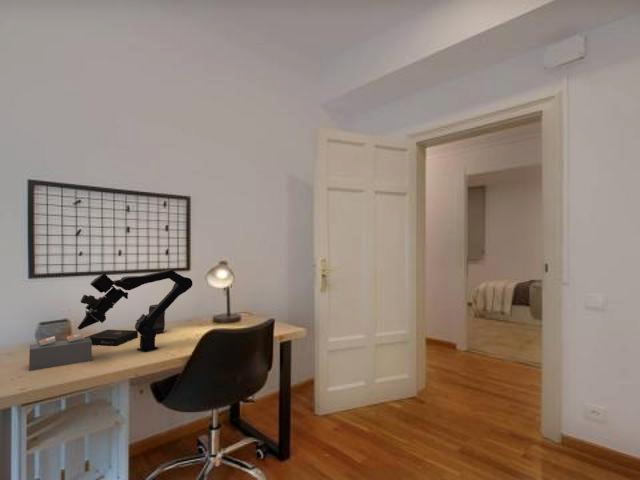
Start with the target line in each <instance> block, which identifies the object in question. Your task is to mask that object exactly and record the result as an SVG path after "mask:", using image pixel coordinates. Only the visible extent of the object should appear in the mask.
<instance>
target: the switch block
mask: <svg viewBox="0 0 640 480" xmlns="http://www.w3.org/2000/svg"><path fill="white" fill-rule="evenodd" d="M92 350H93V345H92V341H91V339H90V337H89V338H84V337H83V338H81V339H77V340H73V341H70V342H68V339H67V340H58V341H57V340H56V341H54V342H51V343H48V344H45V345H42V346H40V343H33V344H29V358H28V359H29V360H28V361H29V362H28V363H29V364H28V365H29V366H28V372H29V371H36V370H37V371H38V370H42V369H48V368H54V367H61V366H67V365H73V364H74V365H75V364H80V363H85V362H92Z"/></svg>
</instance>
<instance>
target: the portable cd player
mask: <svg viewBox="0 0 640 480" xmlns="http://www.w3.org/2000/svg"><path fill="white" fill-rule="evenodd" d="M138 336H139V332H138V331H137V330H132V329H131V330H130V329H129V330H127V329H106V330H102V331H98V332H95V333H93V334H91V335H87V336H83V338H89V337H90V339H91V341H92V346H98V345H100V346H101V347H102V346H103V347H118V346H121V345H122V344H125V343H128V342H130V341H132V339H133V340H135V339H137V338H139V337H138ZM120 344H121V345H120Z"/></svg>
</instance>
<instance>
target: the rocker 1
mask: <svg viewBox="0 0 640 480" xmlns="http://www.w3.org/2000/svg"><path fill="white" fill-rule="evenodd" d="M51 342H57V340H56V336H55V335H53V336H50V337H47V338H43V339H40V340H39V342H38V343H39V344H40V346H42V345H45V344H48V343H51Z"/></svg>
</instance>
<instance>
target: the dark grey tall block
mask: <svg viewBox="0 0 640 480" xmlns="http://www.w3.org/2000/svg"><path fill="white" fill-rule="evenodd" d="M158 304H159V303H158ZM158 304H157V303H156V304H152V305H149V306H148V314H149V313H150V312H151V311H152V310H153V309H154V308H155V307H156V306H157V305H158ZM165 315H166V310H165V311H164V312H163V313H162V315H161V316H160V317H159V318H158V319H157V321H156V323H155V325H154V327H153V328H152V329H153V330H155V331H156V332H157V334H156V335H160V334H164V330H165V326H166V323H165V321H166V320H165V319H166V317H165Z"/></svg>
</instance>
